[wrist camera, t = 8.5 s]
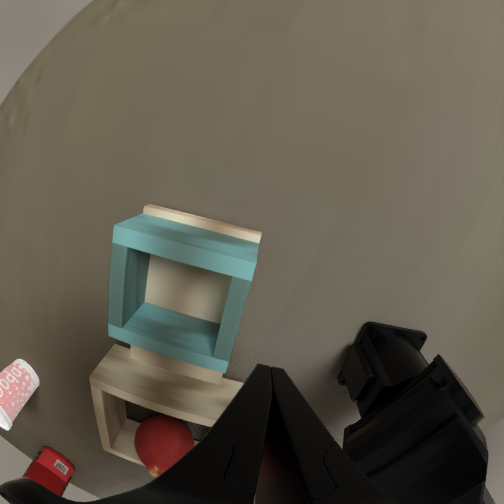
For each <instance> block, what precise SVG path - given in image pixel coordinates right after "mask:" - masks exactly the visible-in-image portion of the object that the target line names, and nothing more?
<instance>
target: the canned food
mask: <svg viewBox="0 0 504 504" xmlns="http://www.w3.org/2000/svg"><path fill="white" fill-rule="evenodd" d="M74 471H75V468H74V466H73V464H72V463H71V462H70V461H69V460H68V459H66V458H65V457H64V456H63V455H61V454H60V453H58V452H57V451H55V450H54V449H52V448H50V447H47V446H44V447H42V448H41V449H40V451H39V452H38V453H37V455H36V456H35V458H34V459H33V461H32V463H31V464H30V466H29V467H28V469H27V470H26V472H25V473H24V475H23V477H26V478H29V479H32V480H34V481H35V482H37V483H39V484H41V485H42V486H44V487H46V488H47V489H49V490H51V491H52V492H54V493H56V494H57V495H59V496H61V497H62V495H63V493H64V491H65V489H66V487H67V485H68V483H69V481H70V480H71V478H72V476H73V474H74Z"/></svg>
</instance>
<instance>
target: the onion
mask: <svg viewBox="0 0 504 504" xmlns="http://www.w3.org/2000/svg"><path fill="white" fill-rule="evenodd" d="M134 446H135V450H136V452H137V454H138V456H139V458H140V460H141V462H142V463H143V464H144V465H145V466H146V467H147V469H148V471H149V473H150V474H151V475H152V476H154V477H158V476H160V475H161V474H162V473H164V472H165V471H166V470H167V469H169V468H170V467H171V466H172V465H173V464H175V463H176V462H177V461H178V460H179V459H181V458H182V457H183V456H184V455H185V454H187V453H188V452H189V451H190V450H191V449H192V448H193V447H194V439H193V436H192V434H191V431H190V430H189V429H188V428H187V427H186V425H185V424H184V423H183V422H181V421H180V420H179V419H178V418H176V417H173V416H169V415H156V416H151V417H149V418H147V419H145V420H144V421H143V422H142V423H141V424H140V425H139V427H138V428H137V430H136V434H135V439H134Z"/></svg>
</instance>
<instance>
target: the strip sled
mask: <svg viewBox="0 0 504 504" xmlns="http://www.w3.org/2000/svg"><path fill="white" fill-rule="evenodd" d="M260 238H261V232H258V231H254V230H251V229H247V228H243V227H239V226H235V225H231V224H228V223H224V222H220V221H216V220H212V219H208V218H204V217H200V216H196V215H192V214H188V213H184V212H180V211H176V210H172V209H168V208H164V207H160V206H156V205H152V204H149V205H146V206H144V210H143V213H142V214H140V215H138V216H135V217H133V218H130V219H128V220H125V221H123V222H121V223H118V224H116V225H114V232H113V241H112V252H111V265H110V281H109V314H108V332H109V336H110V337H113V338H115V339H118V340H121V341H123V342H126V343H129V344H130V349H128V348H126V347H123V346H120V345H118V344H114V345H113V346H112V348H111V349H110V350H109V352H108V353H107V354H106V355H105V357H104V358H103V359H102V360H101V362H100V363H99V364H98V366H97V367H96V368H95V369H94V371H93V372H92V373H91V375H90V376H89V379H90V386H91V392H92V398H93V404H94V409H95V415H96V420H97V424H98V429H99V433H100V438H101V442H102V446H103V450H105V451H107V452H110V453H112V454H114V455H117V456H119V457H122V458H124V459H127V460H129V461H132V462H134V463H137V464H140V465H143V466H145V465H144V464H143V463H142V462H141V460H140V458H139V456H138V454H137V452H136V450H135V446H134V439H135V434H136V430H137V428H138V427H139V425H140V424H141V423H139V422H136V421H133V420H131V419H128V418H127V414H126V400H127V401H129V402H132V403H135V404H137V405H140V406H143V407H146V408H148V409H151V410H154V411H157V412H160V413H163V414H166V415H169V416H173V417H176V418H179V419H183V420H186V421H190V422H193V423H197V424H201V425H205V426H209V427H212V426H213V424H214V423H215V422H216V421H217V419H218V418H219V417H220V415H221V414H222V413H223V411H224V410H225V409H226V407H227V406H228V405H229V403H230V402H231V401H232V399H233V398H234V396H235V395H236V394H237V392H238V391H239V389H240V388H241V387H242V385H243V384H244V383H242V382H238V381H234V380H230V379H226V378H222V376H223V373H226V370H227V366H228V363H229V359H230V356H231V352H232V349H233V345H234V342H235V338H236V335H237V331H238V328H239V324H240V321H241V317H242V313H243V310H244V306H245V303H246V299H247V296H248V292H249V288H250V285H251V281H252V278H253V274H254V270H255V267H256V263H257V255H258V248H259V242H260ZM198 442H199V441H195V440H194V446H195V445H196V444H197V443H198Z"/></svg>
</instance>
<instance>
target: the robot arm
mask: <svg viewBox="0 0 504 504" xmlns="http://www.w3.org/2000/svg"><path fill="white" fill-rule="evenodd" d="M370 327H372V328H371V329H370V330H368V329H369V328H370ZM422 336H423V337H422ZM421 337H422V338H421ZM420 338H421V339H420ZM426 339H427V335H426V334H425V332H422V331H417V330H412V329H406V328H401V327H396V326H391V325H386V324H381V323H376V322H368V323H366V324H365V326H364V328H363V330H362V332H361V334H360V336H359V338H358V340H357V342H356V344H354V345H353V347H352V349H351V351H350V353H349V355H348V357H347V359H346V360H345V362H344V364H343V366H342V371H341V373H340V375H339V377H338V379H337V380H338V383H339V385H343V386H347V387H348V390H349V394H350V397H351V399H352V401H354V402H356V403H357V406H358V409H359V413H360V416H361V419H360V420H359V421H357V422H356V423H354V424H353V425H349V426H348V427H346V428H345V429H344V438H343V448H342V449H341V447H340V446H339V445H338V443H337V442H336V441H334V438H333V437H332V436H331V434H330V433H329V432H328V430H327V429H326V427H325V426H324V425H323V423H322V422H321V421H320V419H319V418H318V417H317V415H316V414H315V412H314V411H313V410H312V408H311V407H310V406H309V404H308V403H307V401H306V400H305V399H304V397H303V396H302V394H301V393H300V392H299V390H298V389H297V387H296V386H295V385H294V383H293V382H292V380H291V379H290V377H289V376H288V375H287V373H286V372H285V370H284V369H282V368H278V367H271V368H270V366H268V365H263V364H257V365H256V367H255V368H254V370H253V371H252V373H251V374H250V375H249V377H248V378H247V380H246V381H245V382H244V384H243V385H242V387H241V388H240V389H239V391H238V392H237V394H236V395H235V396H234V398H233V399H232V401H231V402H230V403H229V405H228V406H227V407H226V409H225V410H224V411H223V413H222V414H221V415H220V417H219V418H218V419H217V421H216V422H215V423H214V424H213V426H212V427H211V428H210V429H209V431H208V432H207V433H206V434H205V435H204V437H203V438H202V439H201V440H200V441H199V442H198V443H197V444H196V445H195V446H194V447H193V448H192V449H191V450H190V451H189V452H188V453H187V454H185V455H184V456H183V457H182V458H181V459H179V460H178V461H177V462H176V463H175V464H173V465H172V466H171V467H170V468H169V469H167V470H166V471H165V472H164V473H162V474H161V475H160V476H158V477H157V478H156V479H154V480H153V481H151V482H150V483H148V484H146V485H144V486H142V487H140V488H137V489H134V490H131V491H127V492H124V493H121V494H118V495H114V496H111V497H107V498H103V499H100V500H96V501H91V502H76V501H72V500H68V499H66V498H63V497H61V496H59V495H57V494H56V493H54V492H52V491H51V490H49V489H47V488H46V487H44V486H42V485H41V484H39V483H37V482H35V481H34V480H32V479H29V478H26V477H21V478H18V479H15V480H12V481H8V482H5V483H4V484H2V485H0V495H1V496H2V497H3V498H5V499H6V500H7V501H8V502H9V503H10V504H253V502H254V496H255V504H495V502H494V500H493V499H492V497H491V495H490V493H489V491H488V490H487V488H486V486H485V482H486V474H487V465H488V449H487V443H486V438H485V436H484V434H483V433H482V431H481V429H480V428H479V426H478V425H477V424H478V423H479V422H480V421H481V420H482V419H484V418H485V417H484V415H483V413H482V411H481V410H480V408H479V406H478V404H477V403H476V401H475V399H474V398H473V396H472V395H471V393H470V392H469V391H468V389H467V388H466V386H465V385H464V384H463V382H462V381H461V380H460V378H459V377H458V376H457V375H456V373H455V372H454V371H453V370H452V369H451V367H450V366H449V365H448V364H447V363H446V362H445V360H444V359H443V358H442V357H441V356H440V355H439V354H438V355H437V356H436V357H435V358H434V359H433V361H432V362H431V363H430V364H428V362H427V361H426V359H425V358H424V357H423V355H422V354H421V352H420V350H421V348H422V346H423V345H424V343H425V341H426ZM343 379H345V380H343Z"/></svg>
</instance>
